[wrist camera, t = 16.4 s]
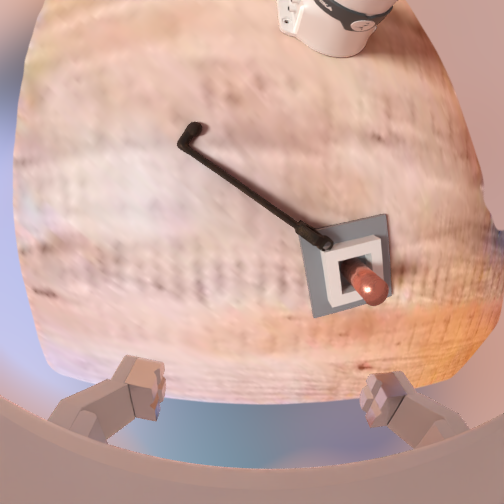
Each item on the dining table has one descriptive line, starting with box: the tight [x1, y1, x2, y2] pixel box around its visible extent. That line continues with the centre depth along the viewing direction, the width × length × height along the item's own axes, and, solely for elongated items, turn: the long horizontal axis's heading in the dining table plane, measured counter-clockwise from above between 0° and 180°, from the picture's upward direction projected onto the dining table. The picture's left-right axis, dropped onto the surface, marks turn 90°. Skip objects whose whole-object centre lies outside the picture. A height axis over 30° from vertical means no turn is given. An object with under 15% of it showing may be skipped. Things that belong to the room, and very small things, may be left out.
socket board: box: [299, 214, 392, 318], centre depth 46 cm, size 16×16×4 cm
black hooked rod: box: [177, 122, 334, 251], centre depth 42 cm, size 5×5×30 cm
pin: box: [341, 257, 389, 306], centre depth 42 cm, size 4×4×11 cm
